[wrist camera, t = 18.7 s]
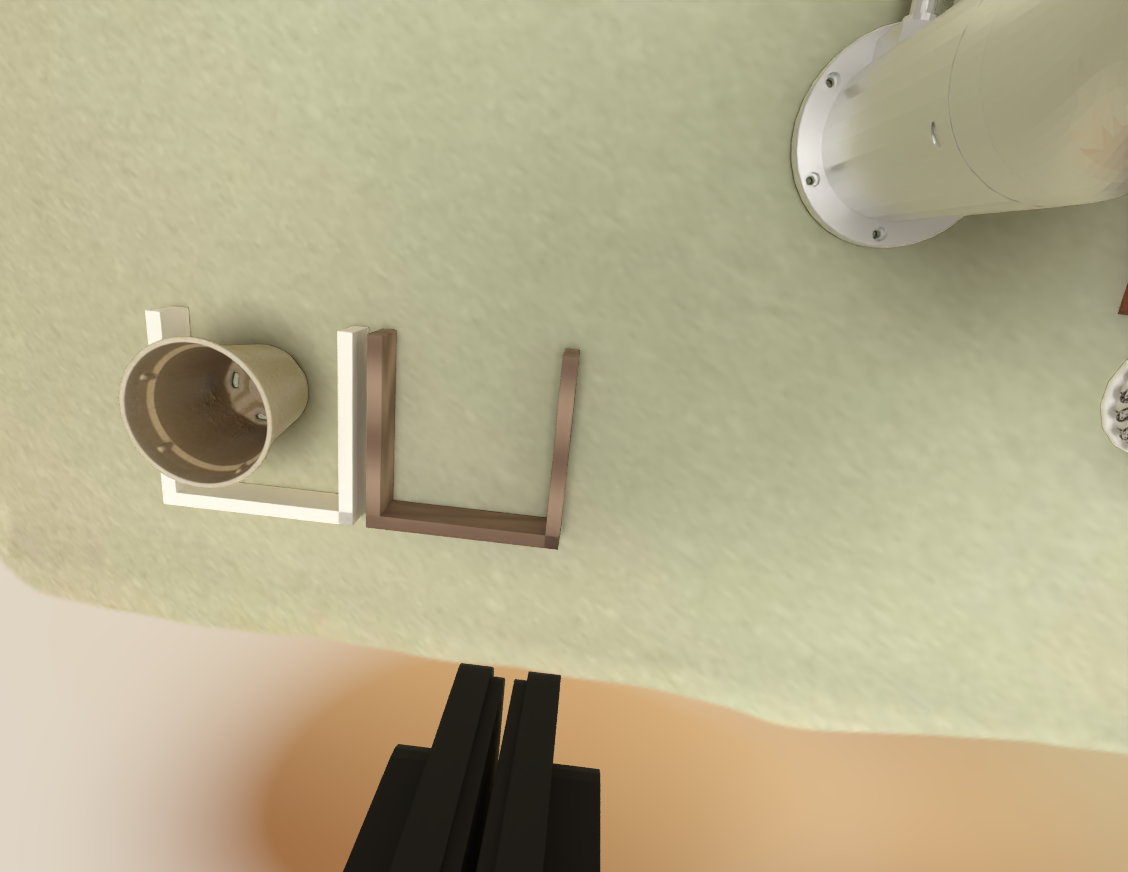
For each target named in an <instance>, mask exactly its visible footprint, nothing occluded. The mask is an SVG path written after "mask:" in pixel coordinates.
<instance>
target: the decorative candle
mask: <svg viewBox="0 0 1128 872" xmlns="http://www.w3.org/2000/svg"><path fill="white" fill-rule="evenodd" d="M1100 408H1101V419H1102V428H1103V430H1104V431H1105V433H1106V434H1107V436H1108V437H1109V439H1110V440H1111V442H1112V443H1113V445H1114V446H1116V447H1118V448H1120V449H1121V450H1123V451H1125V452H1127V453H1128V360H1126V361H1125V362H1124V363H1123V365H1122V366H1121V367H1120V368H1119V370H1118V371H1117V372H1116V373H1115V375H1114V376H1113V377H1112V378H1111V379H1110V381H1109V382H1108V385H1107V388H1106V390H1105V393H1104V396H1103V399H1102V402H1101V405H1100Z"/></svg>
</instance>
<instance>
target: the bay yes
mask: <svg viewBox="0 0 1128 872" xmlns="http://www.w3.org/2000/svg"><path fill="white" fill-rule="evenodd" d="M145 315H146V325H147V335H148V345H150V344H152V343H154V342H156V341H159V340H161V339H165V338H169V337H180V336H188V337H191V336H190V323H189V310H188V308H186V307H177V306H173V307H166V308H158V309H151V310H145ZM367 334H369V327H361V326H352V327H349V328H346V329H343V330H339V331H337V343H338V476H339V494H335V493H327V492H318V491H309V490H301V489H292V488H283V487H275V486H266V485H257V484H249V483H240V482H238V483H235V484H232V485H229V486H225V487H220V488H201V487H194V486H190V485H186V484H183V483H180V482H178V481H176V480H174V479H171V478H169V477H167V476H165V475H163V474H162V473H161V480H162V490H163V500H164V504H170V505H179V506H188V507H196V508H205V509H213V510H222V511H230V512H239V513H248V514H256V515H265V516H273V517H282V518H291V519H299V520H308V521H316V522H325V523H333V524H342V525H351V526H353V525H354V523H355V522H356V521H357V520H358V519H359V518H360V517H361V516H362V514H363V513H364V512H365V511H366V453H367Z"/></svg>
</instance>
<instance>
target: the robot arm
mask: <svg viewBox="0 0 1128 872" xmlns="http://www.w3.org/2000/svg"><path fill="white" fill-rule="evenodd" d="M936 3H937V0H912V4H911V8H910V13H909V15H907V16H905V17H904V18H903V19H902V21H900V22H897V23H893V24H889V25H886V26H882V27H880V28H878V29H876V30H874V31H872V32H870V33H868V34H866V35H864V36H862V37H860V38H859V39H857V40H856V41H854V42H853V43H852V44H850V45H849V46H848V47H846V48H845V49H844V50H842V51H841V52H840V53H839V54H838V55H837V56H836V57H835V58H833V59H832V60H831V61H830V62H829V63H828V64H827V66H826V67H825V68H824V69H823V71H822V72H821V73H820V74H819V75H818V77H817V78H816V79H815V80H814V82H813V84H812V86H811V87H810V89H809V91H808V93H807V94H806V96H805V98H804V100H803V102H802V105H801V108H800V110H799V113H798V116H797V118H796V121H795V127H794V132H793V137H792V152H791V163H792V169H793V175H794V180H795V184H796V187H797V189H798V192H799V194H800V197H801V200H802V201H803V203H804V204H805V206H806V208H807V209H808V211H809V212H810V214H811V215H812V217H813V218H814V219H815V220H816V221H817V222H818V223H819V224H820V225H821V226H822V227H823V228H824V229H826V230H827V231H829V232H830V233H832V234H834V235H835V236H837V237H838V238H840V239H842V240H845V241H848V242H850V243H853V244H856V245H860V246H867V247H873V248H893V247H900V246H907V245H912V244H915V243H918V242H921V241H924V240H927V239H930V238H932V237H934V236H936V235H937V234H939V233H941V232H943V231H945V230H947V229H949V228H950V227H951V226H952V225H954V224H955V223H956V222H958V221H959V220H960V219H962V218H963V217H964V216H966V215H976V214H986V213H997V212H1008V211H1019V210H1030V209H1041V208H1052V207H1063V206H1069V205H1079V204H1088V203H1094V202H1099V201H1104V200H1109V199H1114V198H1117V197H1121V196H1124V195H1127V194H1128V0H954V3H953V7H951V8H950V9H948V10H947V11H945V12H944V13H942V14H941V15H939V16H937V15H936V14H934V12H935V7H936ZM826 80H831V82H832V86H831V87H830V88H829V87H828V86H827V85H826ZM808 177H811V178H812V184H811V185H807V183H806V179H807V178H808ZM874 230H875V231H877V237H876V238H873V232H874ZM560 680H561V675H554V674H546V673H538V672H529V673H528V679H527V681H525V680H517V679H515V680H514V685H513V690H512V695H511V700H510V706H509V710H508V715H507V720H506V725H505V730H504V735H503V740H502V745H501V750H500V755H499V745H500V733H501V721H502V710H503V698H504V686H505V678H501V677H494V668H493V667H488V666H480V665H472V664H464V663H461V664H460V666H459V668H458V671H457V674H456V677H455V680H454V684H453V686H452V689H451V692H450V695H449V698H448V701H447V704H446V707H445V710H444V712H443V715H442V718H441V721H440V725H439V727H438V730H437V733H436V737H435V739H434V742H433V745H432V748H425V747H417V746H410V745H401V744H398V745H397V746H396V747H395V749H394V751H393V753H392V755H391V757H390V760H389V762H388V764H387V767H386V769H385V772H384V774H383V777H382V779H381V781H380V784H379V786H378V789H377V791H376V794H375V796H374V798H373V801H372V803H371V805H370V808H369V811H368V813H367V815H366V818H365V820H364V823H363V825H362V827H361V830H360V832H359V835H358V837H357V839H356V842H355V844H354V847H353V849H352V851H351V854H350V856H349V859H348V861H347V864H346V866H345V868H344V871H343V872H600V770H599V769H593V768H585V767H577V766H569V765H561V764H553V756H554V745H555V734H556V724H557V723H556V722H557V713H558V702H559V691H560ZM498 757H499V760H498Z"/></svg>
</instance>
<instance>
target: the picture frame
mask: <svg viewBox="0 0 1128 872" xmlns="http://www.w3.org/2000/svg"><path fill="white" fill-rule="evenodd" d="M1118 314H1124V315H1128V284H1127V287H1126V290H1125V293H1124V296H1123V299H1122V302H1121V306H1120V309H1119V312H1118Z"/></svg>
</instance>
